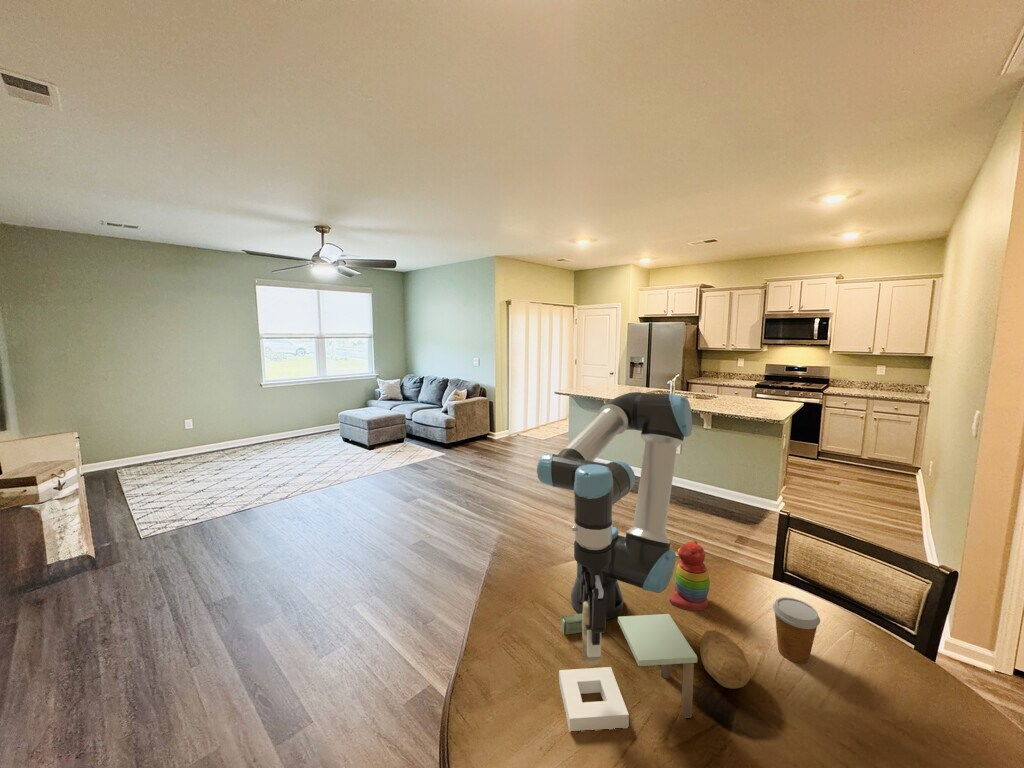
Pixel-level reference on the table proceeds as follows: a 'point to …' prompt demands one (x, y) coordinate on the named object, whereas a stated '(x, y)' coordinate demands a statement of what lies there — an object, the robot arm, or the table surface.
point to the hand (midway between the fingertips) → (591, 647)
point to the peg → (585, 658)
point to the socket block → (592, 713)
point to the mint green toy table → (661, 649)
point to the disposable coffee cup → (795, 628)
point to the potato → (724, 660)
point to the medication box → (573, 623)
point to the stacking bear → (691, 578)
